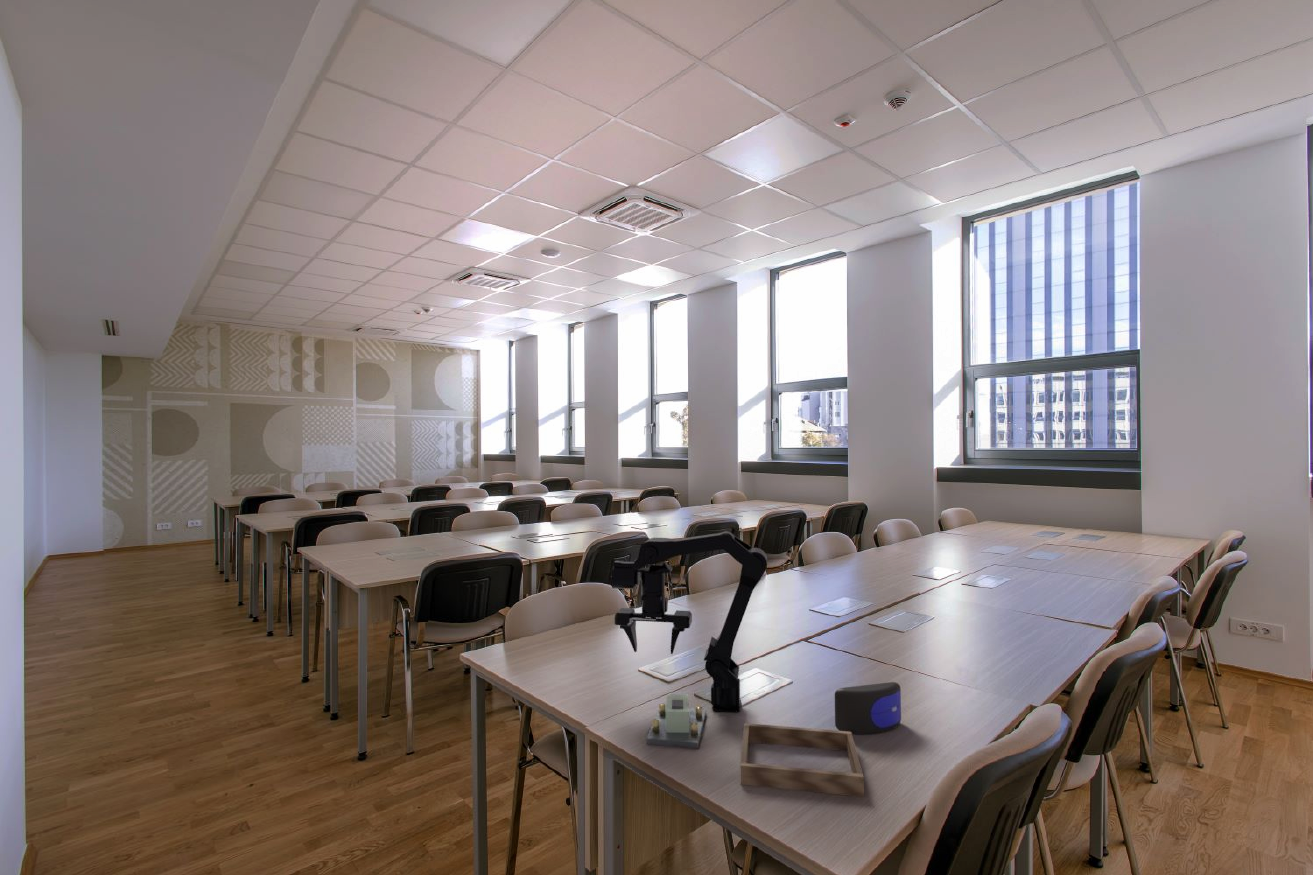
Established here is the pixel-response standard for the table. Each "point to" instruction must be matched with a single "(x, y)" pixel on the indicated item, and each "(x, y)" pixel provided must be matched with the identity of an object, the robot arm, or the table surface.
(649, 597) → the robot arm
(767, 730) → the storage tray
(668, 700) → the pale green block
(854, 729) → the black and blue case
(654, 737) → the chassis
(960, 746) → the table surface
